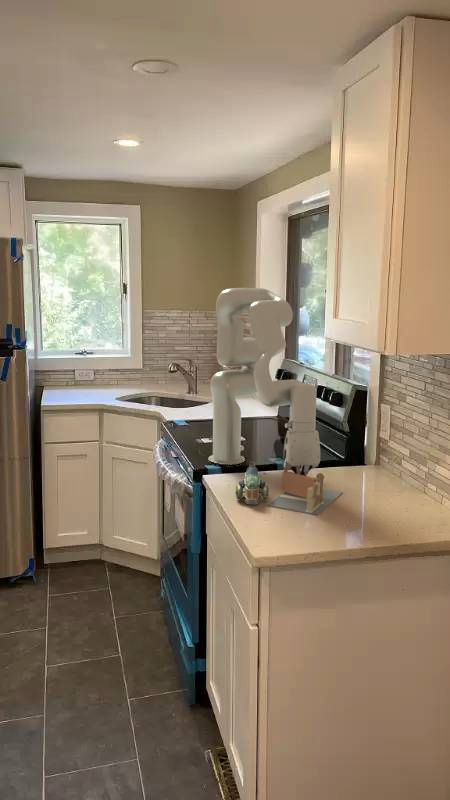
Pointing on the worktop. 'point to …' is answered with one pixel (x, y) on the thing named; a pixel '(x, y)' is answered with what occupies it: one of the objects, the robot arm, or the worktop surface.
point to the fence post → (315, 492)
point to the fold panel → (296, 483)
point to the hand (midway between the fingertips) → (300, 486)
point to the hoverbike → (252, 486)
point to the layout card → (304, 502)
